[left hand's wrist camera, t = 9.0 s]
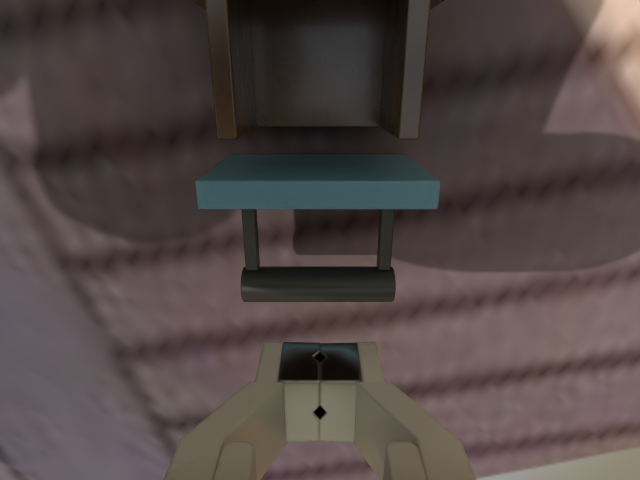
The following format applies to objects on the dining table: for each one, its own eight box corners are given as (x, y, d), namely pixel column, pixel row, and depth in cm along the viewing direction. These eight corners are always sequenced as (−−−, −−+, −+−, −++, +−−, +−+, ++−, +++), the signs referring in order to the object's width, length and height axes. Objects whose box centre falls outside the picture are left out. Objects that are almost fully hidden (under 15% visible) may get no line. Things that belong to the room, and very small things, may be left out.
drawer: (398, 262, 24) (425, 323, 18) (238, 262, 24) (210, 322, 18) (446, -363, 15) (537, -683, 9) (188, -364, 15) (95, -685, 9)
